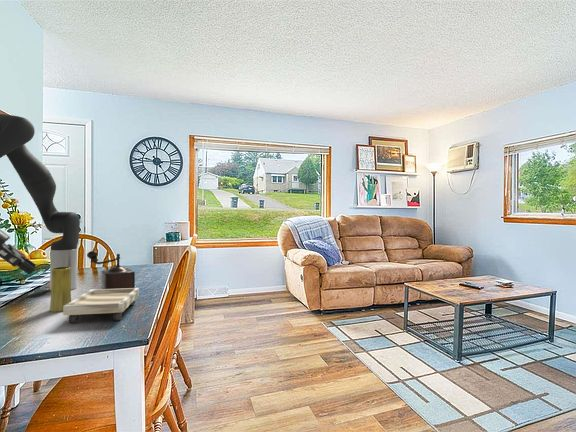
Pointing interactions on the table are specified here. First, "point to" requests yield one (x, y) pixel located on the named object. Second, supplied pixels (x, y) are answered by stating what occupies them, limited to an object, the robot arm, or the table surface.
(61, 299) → the vase
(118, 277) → the coffee grinder
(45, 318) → the table surface
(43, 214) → the robot arm
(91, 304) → the caster dolly
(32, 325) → the table surface
